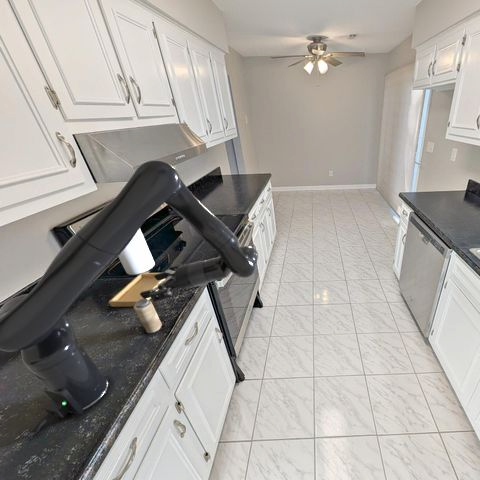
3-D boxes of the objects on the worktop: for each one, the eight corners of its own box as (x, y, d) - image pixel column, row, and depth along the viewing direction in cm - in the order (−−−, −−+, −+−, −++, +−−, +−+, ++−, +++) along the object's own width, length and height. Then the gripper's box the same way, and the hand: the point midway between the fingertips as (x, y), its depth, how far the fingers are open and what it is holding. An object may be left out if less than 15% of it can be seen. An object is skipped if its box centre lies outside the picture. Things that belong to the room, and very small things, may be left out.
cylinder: (123, 268, 128) (100, 223, 116) (150, 258, 136) (131, 215, 124) (130, 277, 120) (106, 230, 109) (158, 265, 128) (139, 220, 117)
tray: (143, 306, 102) (140, 301, 100) (111, 306, 103) (108, 301, 101) (170, 277, 119) (168, 272, 118) (142, 277, 120) (140, 273, 119)
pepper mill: (154, 334, 88) (141, 308, 83) (142, 332, 89) (129, 306, 84) (165, 323, 93) (153, 297, 87) (153, 321, 94) (141, 296, 88)
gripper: (198, 252, 84) (153, 263, 85) (180, 279, 71) (128, 293, 73) (208, 269, 87) (166, 280, 89) (193, 298, 75) (144, 310, 77)
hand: (149, 286), depth 81 cm, fingers open, 8 cm apart
